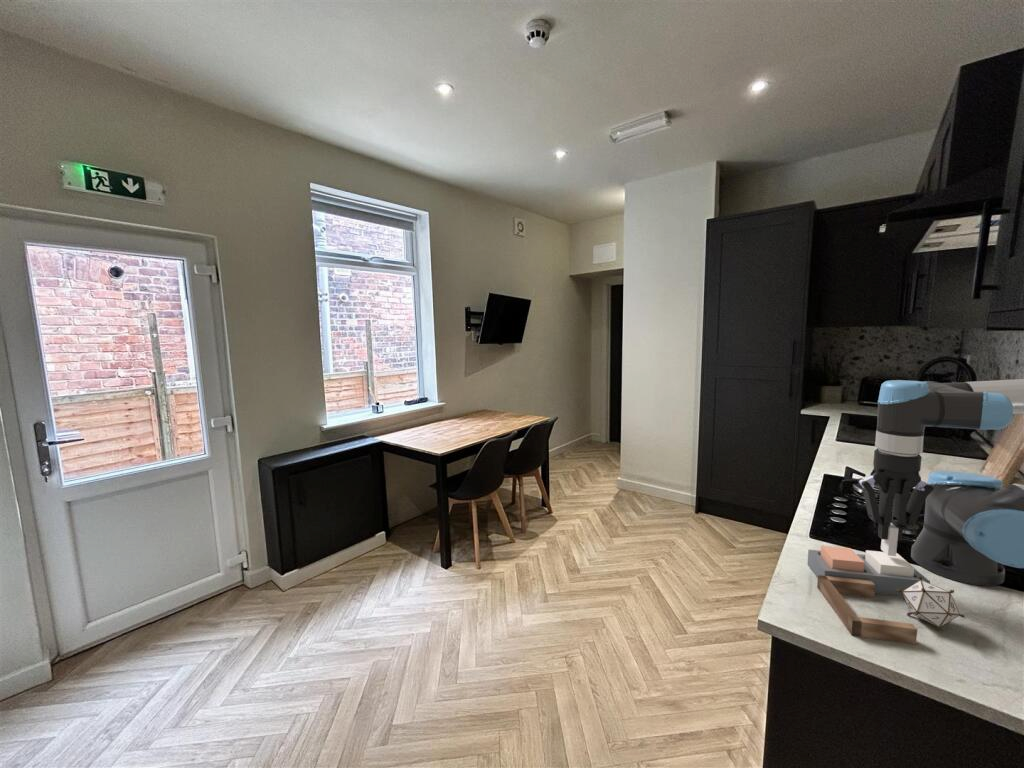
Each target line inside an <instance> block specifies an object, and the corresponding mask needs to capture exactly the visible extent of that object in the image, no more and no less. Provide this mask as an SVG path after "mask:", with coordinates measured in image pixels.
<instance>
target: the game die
mask: <svg viewBox="0 0 1024 768" xmlns="http://www.w3.org/2000/svg"><path fill="white" fill-rule="evenodd" d="M918 578H919V579H920V580H919V581H918V582H916V583H915V584H913V585H911V586H910V587H908V588H907V589H905V590H903V591H901V590H899V589H896V590H897V591H898V592H901V593H902V594H903V596H902V597H903V598H904V600H905V603H906V605H907V608H908V612H907V616H911V615H914V616H915V617H917V618H919V619H921V620H923V621H925V622H927V623H929V624H932V625H933V626H935V627H937V629H938V631H939V632H940V633H942V632H943V629H942V627H944V626H945V625H947V624H948V623H950V622H951V621H954V620H955V619H956V618H959V617H960V618H963V619H965V618H967V617H966V616H965V615H964V614H961V613H960V612H959V610H958V609H959V608H958V607H957V605H956V602H955V600H954V597H953V596H952V594H953V593H954V594H955V589H950V590H946V589H944V588H941V587H939V586H936V585H935V584H932V583H931V582H930V583H928V582H925V581H923V580H922V577H921V576H920V575H919V577H918Z"/></svg>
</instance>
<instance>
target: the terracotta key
mask: <svg viewBox="0 0 1024 768" xmlns="http://www.w3.org/2000/svg"><path fill="white" fill-rule="evenodd" d="M820 551H821V555H820V556H821V558H822V559H823V560H824V561H825V562H826V564H827V565H828V566H829V567H830V568H831V569H838V570H848V571H857V572H864V563H865V562H864V561H863V560H862V559H861V558H860V557H859V556H858V555H857V554H858V553H856V552H855V551H854V550H853V549H852V548H850V547H840V546H839V547H838V546H829V545H828V546H827V545H820Z"/></svg>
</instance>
